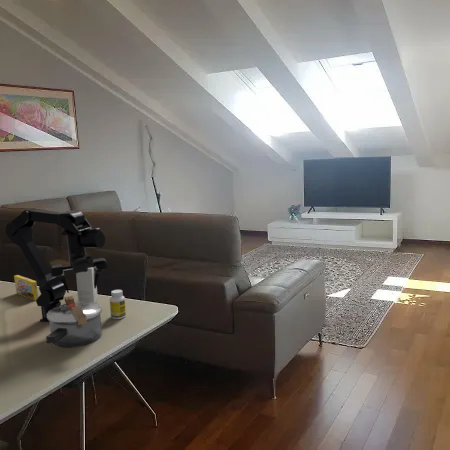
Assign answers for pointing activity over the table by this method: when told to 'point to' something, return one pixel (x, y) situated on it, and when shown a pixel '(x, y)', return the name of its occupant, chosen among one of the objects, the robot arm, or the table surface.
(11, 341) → the table surface
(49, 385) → the table surface
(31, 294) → the candy box
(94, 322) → the cooker pot
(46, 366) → the table surface
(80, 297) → the skincare box
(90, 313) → the lid
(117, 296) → the supplement bottle
